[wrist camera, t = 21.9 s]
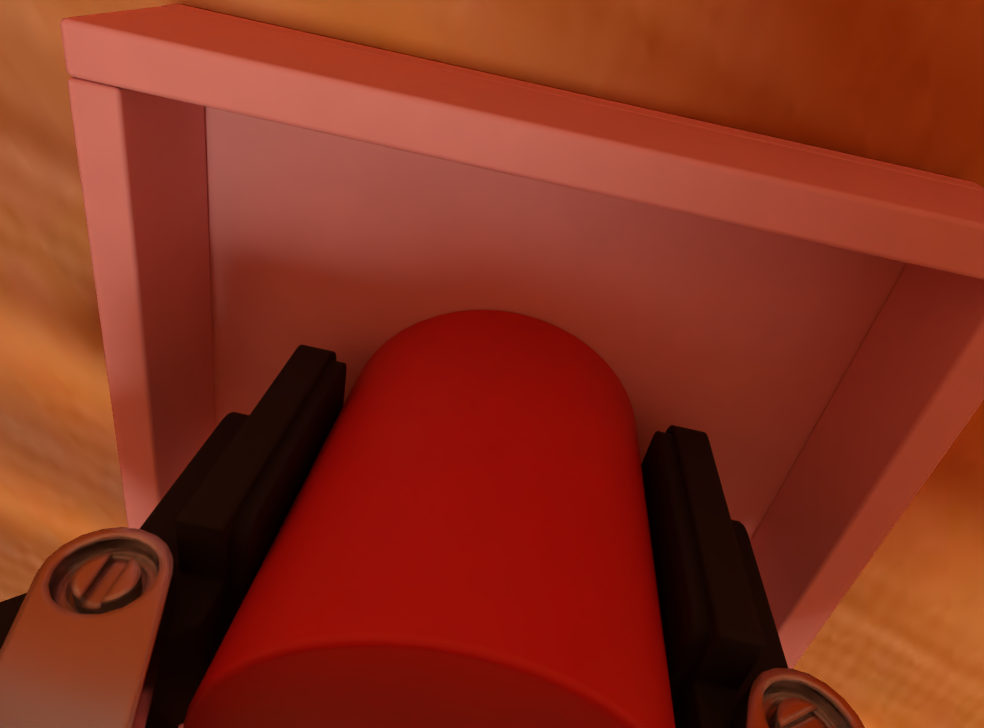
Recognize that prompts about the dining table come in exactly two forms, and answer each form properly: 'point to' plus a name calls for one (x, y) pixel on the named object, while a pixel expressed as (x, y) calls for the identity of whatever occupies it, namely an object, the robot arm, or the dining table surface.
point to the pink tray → (524, 265)
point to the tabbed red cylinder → (459, 551)
